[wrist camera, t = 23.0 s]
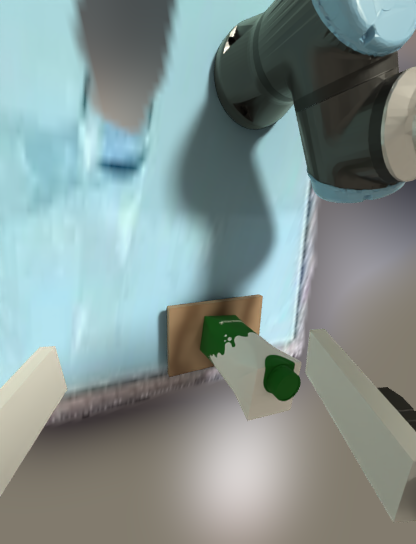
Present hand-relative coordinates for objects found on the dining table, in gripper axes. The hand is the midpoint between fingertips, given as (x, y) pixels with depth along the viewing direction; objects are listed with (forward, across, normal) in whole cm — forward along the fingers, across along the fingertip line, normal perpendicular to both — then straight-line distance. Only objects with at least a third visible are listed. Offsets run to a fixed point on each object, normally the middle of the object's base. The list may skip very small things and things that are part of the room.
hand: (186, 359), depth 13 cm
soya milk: (+32, +4, -19) cm, 38 cm away
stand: (+35, +3, -20) cm, 40 cm away
